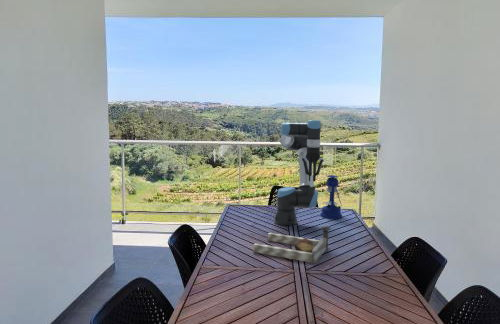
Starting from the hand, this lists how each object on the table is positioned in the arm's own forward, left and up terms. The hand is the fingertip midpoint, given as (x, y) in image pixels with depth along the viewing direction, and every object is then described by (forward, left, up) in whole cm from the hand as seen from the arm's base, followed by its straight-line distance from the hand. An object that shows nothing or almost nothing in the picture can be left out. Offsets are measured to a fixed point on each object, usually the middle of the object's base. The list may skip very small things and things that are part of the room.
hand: (311, 186), depth 215 cm
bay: (-2, -28, -29) cm, 41 cm away
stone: (+5, -29, -30) cm, 42 cm away
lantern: (+2, +48, -30) cm, 56 cm away
